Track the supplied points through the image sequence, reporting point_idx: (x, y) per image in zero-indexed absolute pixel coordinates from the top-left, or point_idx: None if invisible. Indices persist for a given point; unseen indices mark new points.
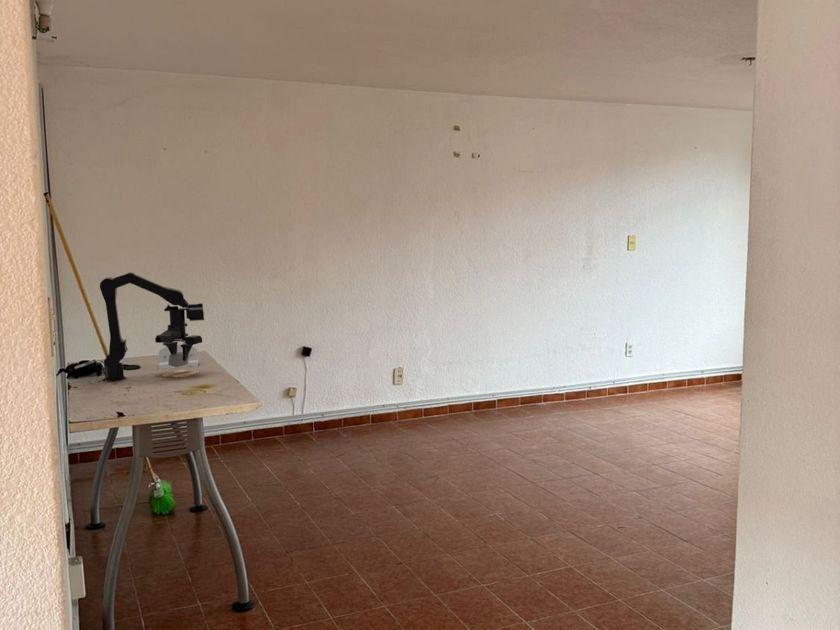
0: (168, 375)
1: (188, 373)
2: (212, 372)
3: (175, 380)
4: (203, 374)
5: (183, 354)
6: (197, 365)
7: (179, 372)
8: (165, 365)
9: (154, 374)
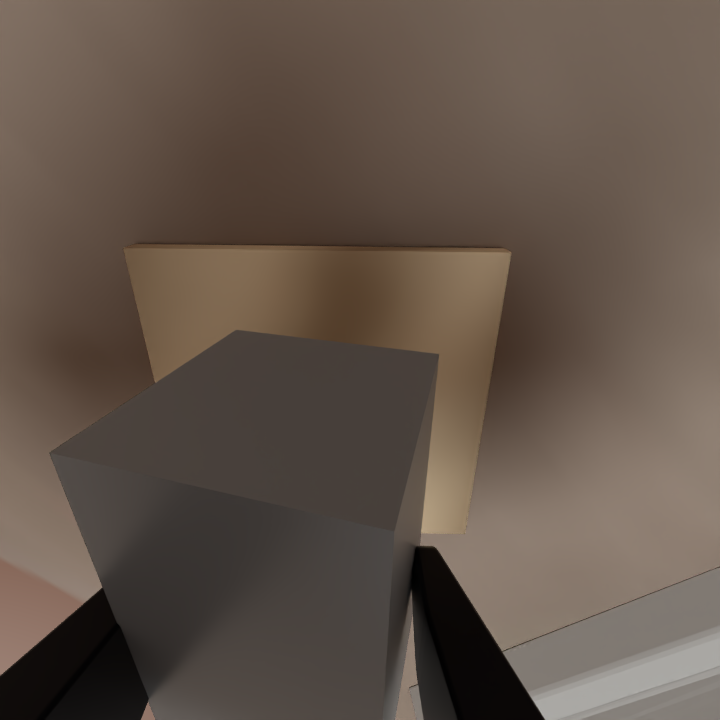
0: (393, 249)
1: None
2: (84, 550)
3: (90, 31)
4: None
5: (37, 682)
6: (417, 692)
7: None
8: (703, 618)
9: (689, 327)
